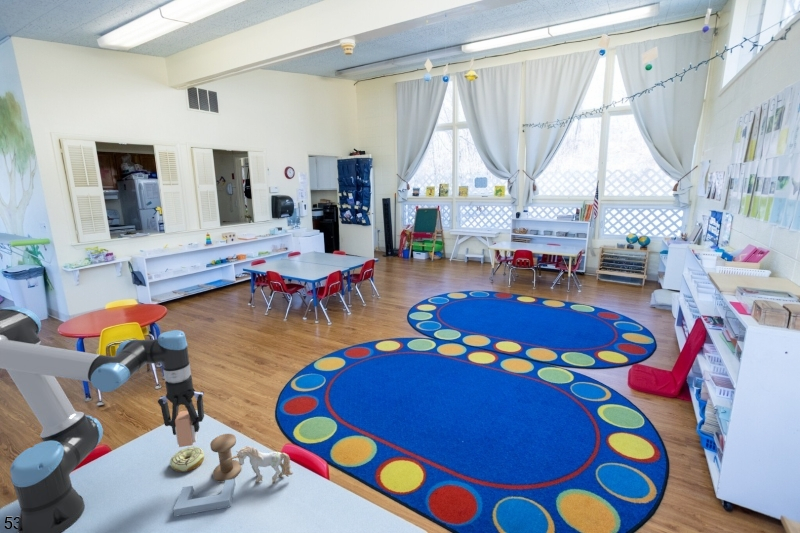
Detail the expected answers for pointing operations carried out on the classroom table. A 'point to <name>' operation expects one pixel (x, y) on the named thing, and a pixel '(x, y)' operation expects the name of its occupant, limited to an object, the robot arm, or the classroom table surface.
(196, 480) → the classroom table surface
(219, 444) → the bobbin
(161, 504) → the classroom table surface
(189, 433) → the tab
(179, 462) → the decorated donut
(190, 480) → the classroom table surface
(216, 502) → the u-shaped block
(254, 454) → the unicorn figurine
